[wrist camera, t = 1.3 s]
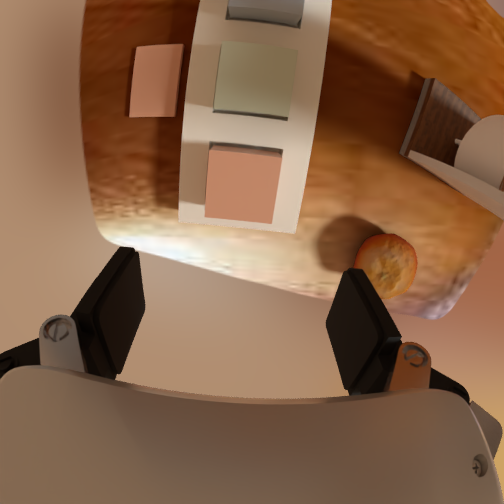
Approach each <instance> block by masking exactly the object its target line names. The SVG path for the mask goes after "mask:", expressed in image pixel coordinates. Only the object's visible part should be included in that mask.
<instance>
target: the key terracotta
mask: <svg viewBox="0 0 504 504" xmlns="http://www.w3.org/2000/svg"><path fill="white" fill-rule="evenodd" d="M281 164H282V157H281V155H280V154H279V153H278V152H272V151H265V150H257V149H248V148H238V147H228V146H216V145H214V146H213V147H212V148H211V149H210V150H209V159H208V171H207V184H206V199H205V216H204V217H207V218H218V219H228V220H238V221H248V222H258V223H267V224H272V220H273V214H274V208H275V201H276V195H277V189H278V183H279V177H280V170H281Z"/></svg>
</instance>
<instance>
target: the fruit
mask: <svg viewBox="0 0 504 504" xmlns="http://www.w3.org/2000/svg"><path fill="white" fill-rule="evenodd" d="M353 268H357V269H363V270H364V272H365V273H366V275H367V277H368V278H369V280H370V282H371V283H372V285H373V287H374V288H375V290H376V292H377V293H378V295H379V297H380V298H381V299H390V298H392V297H394V296H397V295H400V294H402V293H404V292H406V291H407V290H408V288H409V287H410V286H411V284H412V282H413V280H414V277H415V274H416V270H417V256H416V253H415V250H414V248H413V247H412V246H411V245H410V244H409V243H408V242H407V241H406V240H404V239H403V238H401V237H399V236H397V235H395V234H380V235H374V236H371V237H369V238H367V239H366V240H365V241H364V243H363V244H362V246H361V247H360V249H359V251H358V253H357V255H356V259H355V263H354V267H353Z"/></svg>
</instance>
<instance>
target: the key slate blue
mask: <svg viewBox="0 0 504 504" xmlns="http://www.w3.org/2000/svg"><path fill="white" fill-rule="evenodd" d="M304 1H305V0H229V4H228V8H229V13H230V18H244V19H254V20H263V21H271V22H278V23H284V24H290V25H295V26H296V25H297V23H298V22H299V20H300V19H301V17H302V16H303V9H304Z"/></svg>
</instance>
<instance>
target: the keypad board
mask: <svg viewBox="0 0 504 504" xmlns="http://www.w3.org/2000/svg"><path fill="white" fill-rule="evenodd" d="M228 4H229V0H200V4H199V9H198V14H197V20H196V25H195V31H194V37H193V43H192V50H191V57H190V64H189V71H188V79H187V88H186V97H185V107H184V118H183V130H182V143H181V160H180V181H179V222H183V223H195V224H206V225H216V226H227V227H237V228H247V229H257V230H266V231H275V232H285V233H294V234H295V232H296V227H297V222H298V217H299V212H300V207H301V202H302V197H303V192H304V187H305V182H306V176H307V171H308V165H309V160H310V154H311V148H312V143H313V137H314V131H315V125H316V118H317V112H318V106H319V99H320V92H321V86H322V79H323V71H324V64H325V56H326V49H327V40H328V32H329V23H330V14H331V4H332V0H305V1H304V9H303V16H302V17H301V19H300V20H299V22H298V23H297V25H296V26H295V25H290V24H284V23H278V22H271V21H263V20H254V19H244V18H230V13H229V8H228ZM222 41H233V42H245V43H255V44H263V45H271V46H278V47H284V48H290V49H295V50H298V55H297V62H296V69H295V76H294V83H293V90H292V97H291V104H290V111H289V117H284V116H278V115H271V114H263V113H255V112H246V111H236V110H224V109H213V108H214V99H215V90H216V82H217V75H218V67H219V60H220V53H221V46H222ZM214 145H216V146H228V147H238V148H248V149H257V150H265V151H272V152H278V153H279V154H280V155H281V157H282V164H281V170H280V177H279V183H278V189H277V195H276V201H275V208H274V214H273V220H272V224H267V223H258V222H248V221H238V220H228V219H218V218H207V217H204V216H205V199H206V184H207V171H208V159H209V150H210V149H211V148H212V147H213V146H214Z"/></svg>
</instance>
